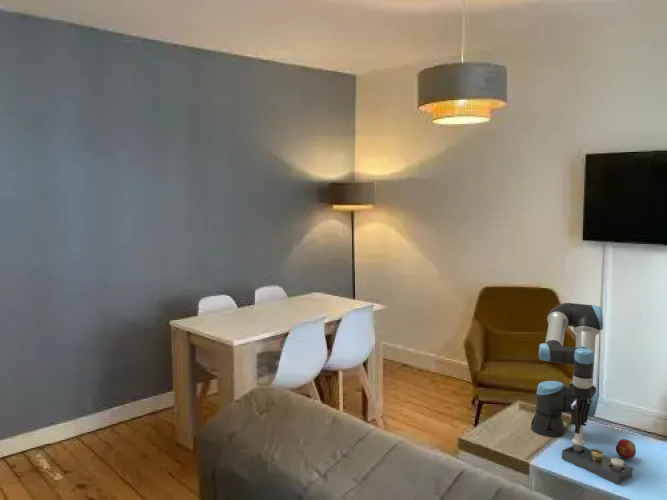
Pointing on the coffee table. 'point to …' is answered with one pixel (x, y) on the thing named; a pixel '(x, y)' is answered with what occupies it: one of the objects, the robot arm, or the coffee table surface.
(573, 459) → the panel
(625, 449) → the fruit
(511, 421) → the coffee table surface
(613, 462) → the knob
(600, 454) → the brass dial
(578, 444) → the knob
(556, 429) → the robot arm
